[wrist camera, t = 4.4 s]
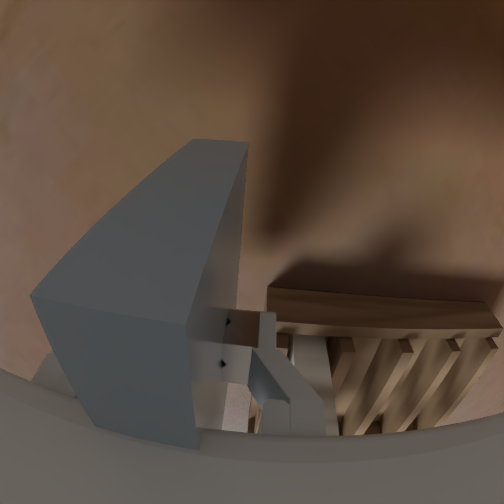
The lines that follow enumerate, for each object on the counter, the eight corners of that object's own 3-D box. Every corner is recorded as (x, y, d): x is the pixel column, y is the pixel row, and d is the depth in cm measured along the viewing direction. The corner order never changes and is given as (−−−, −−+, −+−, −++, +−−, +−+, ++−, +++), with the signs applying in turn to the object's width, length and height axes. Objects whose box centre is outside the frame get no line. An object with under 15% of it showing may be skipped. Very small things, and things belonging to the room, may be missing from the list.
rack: (267, 286, 19) (261, 435, 10) (484, 302, 19) (547, 399, 10) (249, 412, 26) (240, 514, 17) (416, 411, 26) (439, 496, 17)
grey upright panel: (193, 138, 11) (30, 294, 3) (248, 142, 11) (185, 324, 3) (195, 339, 16) (154, 504, 8) (233, 344, 16) (209, 515, 8)
